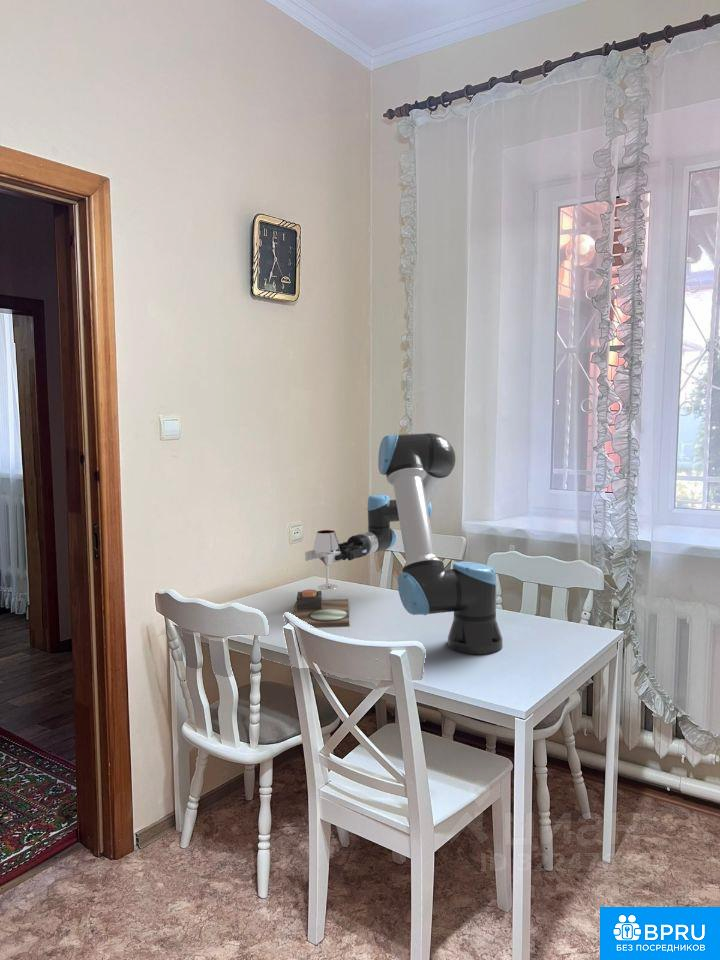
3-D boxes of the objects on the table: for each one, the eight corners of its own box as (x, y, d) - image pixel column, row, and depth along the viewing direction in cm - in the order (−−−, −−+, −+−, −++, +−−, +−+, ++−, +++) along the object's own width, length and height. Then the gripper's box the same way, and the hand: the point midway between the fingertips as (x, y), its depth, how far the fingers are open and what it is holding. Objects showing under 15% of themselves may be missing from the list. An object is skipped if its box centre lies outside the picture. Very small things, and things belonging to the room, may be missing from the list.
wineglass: (340, 590, 224) (338, 533, 222) (314, 591, 224) (312, 534, 222) (340, 583, 232) (339, 529, 230) (315, 584, 232) (313, 529, 230)
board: (349, 626, 221) (348, 609, 220) (290, 628, 220) (290, 611, 220) (348, 602, 247) (347, 587, 246) (296, 604, 246) (295, 589, 246)
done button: (316, 602, 237) (316, 593, 236) (301, 603, 237) (301, 593, 236) (317, 598, 242) (316, 589, 241) (302, 599, 242) (302, 589, 241)
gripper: (386, 559, 235) (342, 574, 217) (338, 552, 247) (292, 565, 230) (386, 537, 234) (341, 550, 216) (337, 531, 247) (291, 542, 229)
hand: (316, 558), depth 223 cm, fingers closed on wineglass, 8 cm apart
